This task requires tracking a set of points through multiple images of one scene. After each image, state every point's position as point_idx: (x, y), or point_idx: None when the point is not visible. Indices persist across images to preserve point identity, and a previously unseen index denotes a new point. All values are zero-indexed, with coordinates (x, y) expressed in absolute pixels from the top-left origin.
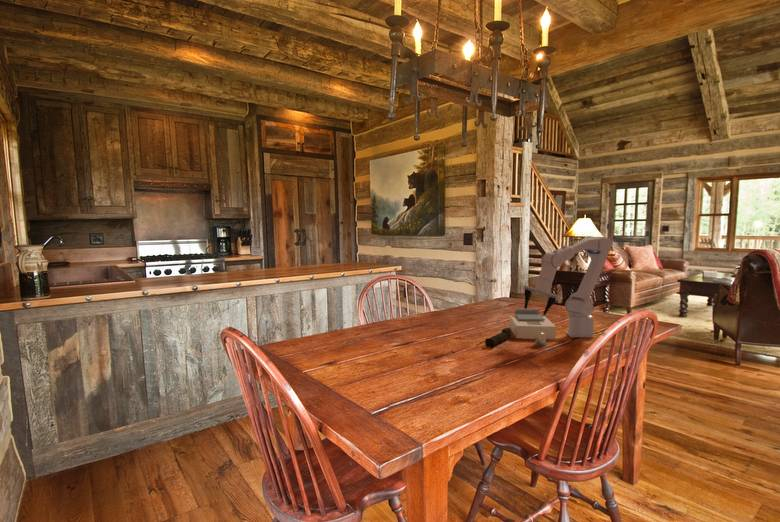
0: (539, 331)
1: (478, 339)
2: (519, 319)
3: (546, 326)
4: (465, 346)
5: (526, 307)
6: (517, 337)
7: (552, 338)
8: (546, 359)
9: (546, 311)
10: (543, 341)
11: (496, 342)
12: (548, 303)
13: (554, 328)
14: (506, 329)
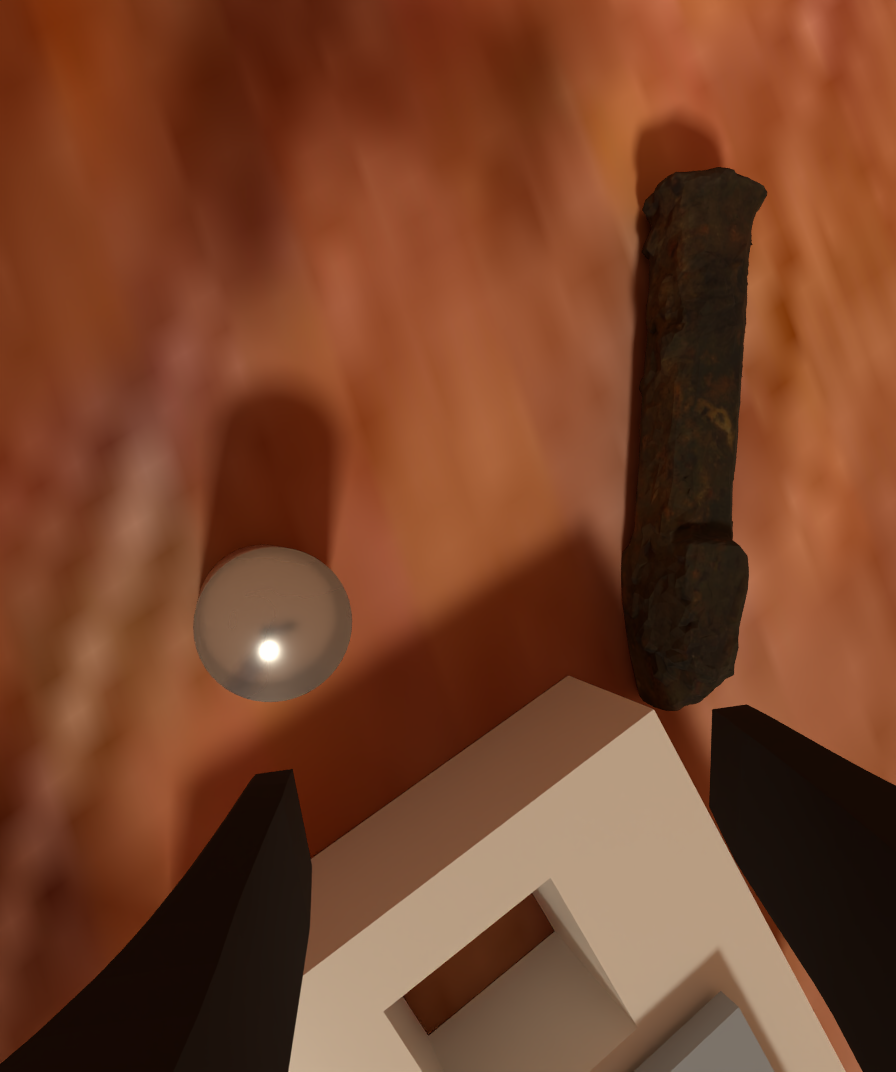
0: (315, 686)
1: (839, 415)
2: (724, 1003)
3: None
4: (842, 141)
5: (727, 771)
6: (565, 683)
7: None
8: (18, 75)
9: (217, 843)
10: (213, 569)
11: (659, 273)
12: (146, 1014)
13: None
14: (716, 600)
